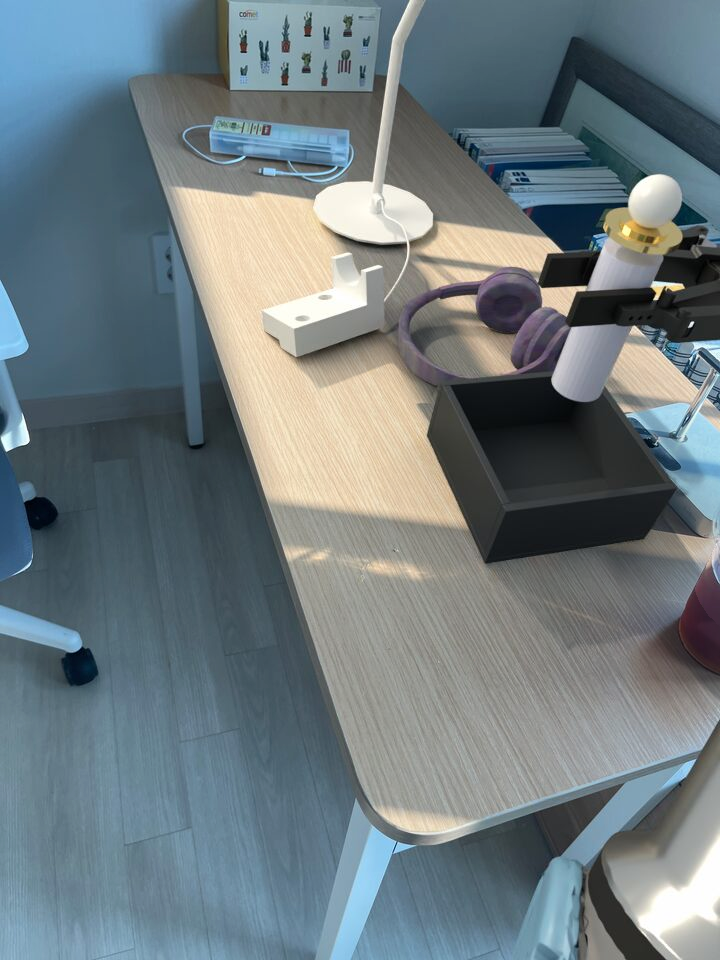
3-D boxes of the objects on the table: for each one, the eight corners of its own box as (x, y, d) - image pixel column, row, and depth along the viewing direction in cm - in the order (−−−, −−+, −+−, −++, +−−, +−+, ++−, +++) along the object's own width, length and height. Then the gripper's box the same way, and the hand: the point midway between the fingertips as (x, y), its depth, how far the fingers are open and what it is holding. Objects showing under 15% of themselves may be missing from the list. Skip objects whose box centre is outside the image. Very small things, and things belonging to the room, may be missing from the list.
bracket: (350, 309, 98) (348, 252, 94) (384, 326, 94) (383, 266, 89) (264, 337, 92) (257, 277, 88) (296, 357, 88) (290, 294, 83)
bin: (644, 539, 76) (677, 488, 70) (484, 564, 71) (506, 511, 66) (569, 420, 87) (592, 367, 81) (426, 435, 83) (440, 380, 77)
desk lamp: (301, 183, 118) (327, -199, 85) (410, 183, 123) (475, -180, 90) (356, 327, 94) (422, -126, 61) (490, 321, 99) (617, -104, 66)
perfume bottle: (617, 407, 67) (722, 194, 52) (562, 417, 65) (655, 199, 51) (584, 366, 71) (674, 156, 56) (530, 375, 69) (609, 159, 54)
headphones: (517, 298, 102) (377, 332, 98) (526, 244, 96) (377, 278, 92) (586, 385, 91) (431, 427, 87) (601, 331, 84) (435, 374, 81)
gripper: (843, 376, 62) (592, 401, 56) (723, 259, 73) (503, 269, 67) (902, 299, 56) (631, 317, 50) (762, 184, 67) (526, 188, 61)
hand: (558, 289), depth 59 cm, fingers closed on perfume bottle, 4 cm apart
